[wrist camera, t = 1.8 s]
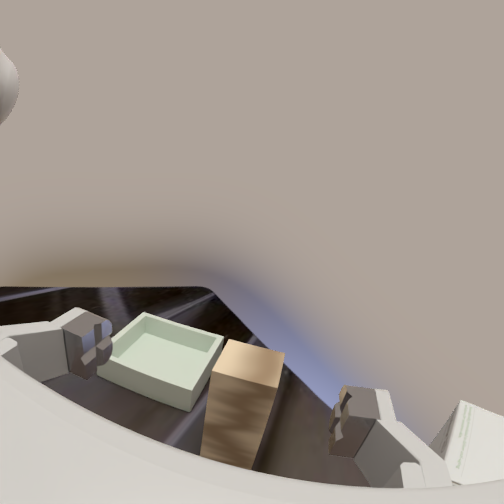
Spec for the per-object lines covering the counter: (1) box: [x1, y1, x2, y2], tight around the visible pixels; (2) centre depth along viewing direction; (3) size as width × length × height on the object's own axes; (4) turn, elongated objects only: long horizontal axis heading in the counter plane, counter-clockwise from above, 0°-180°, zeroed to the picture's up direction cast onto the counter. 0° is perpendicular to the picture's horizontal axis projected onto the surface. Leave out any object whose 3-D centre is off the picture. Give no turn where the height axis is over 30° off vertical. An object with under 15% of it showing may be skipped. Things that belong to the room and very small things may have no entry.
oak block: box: [200, 339, 285, 470], centre depth 26 cm, size 5×5×12 cm
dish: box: [97, 312, 224, 412], centre depth 39 cm, size 13×13×4 cm
